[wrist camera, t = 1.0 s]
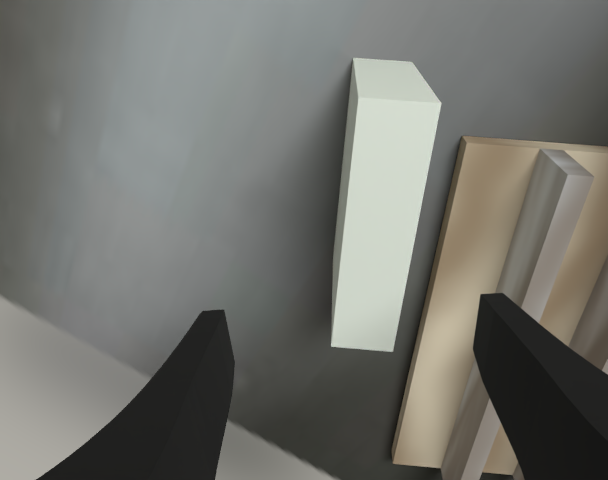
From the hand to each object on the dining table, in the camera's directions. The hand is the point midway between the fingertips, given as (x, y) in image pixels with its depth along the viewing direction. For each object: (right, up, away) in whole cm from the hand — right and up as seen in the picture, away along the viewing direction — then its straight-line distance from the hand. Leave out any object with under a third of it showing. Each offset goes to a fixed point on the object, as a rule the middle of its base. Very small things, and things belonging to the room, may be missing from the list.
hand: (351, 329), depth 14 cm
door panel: (+2, +6, +9) cm, 11 cm away
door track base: (+11, -3, +14) cm, 18 cm away
